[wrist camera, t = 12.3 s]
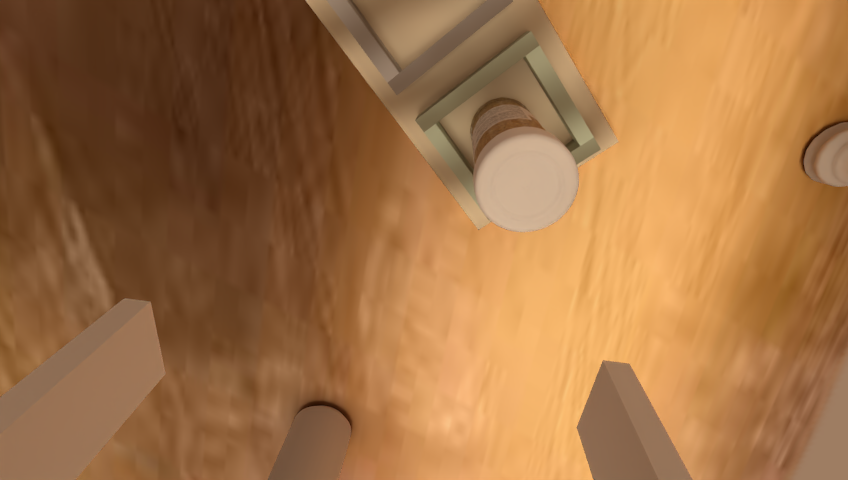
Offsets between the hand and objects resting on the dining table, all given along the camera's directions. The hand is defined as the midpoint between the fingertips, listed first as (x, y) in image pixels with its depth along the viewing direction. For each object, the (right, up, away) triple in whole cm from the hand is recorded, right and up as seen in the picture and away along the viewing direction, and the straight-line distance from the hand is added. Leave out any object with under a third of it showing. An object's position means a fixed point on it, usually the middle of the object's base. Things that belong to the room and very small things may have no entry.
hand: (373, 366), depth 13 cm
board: (+4, +16, +17) cm, 24 cm away
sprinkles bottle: (+7, +12, +18) cm, 23 cm away
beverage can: (-9, -16, +34) cm, 39 cm away
